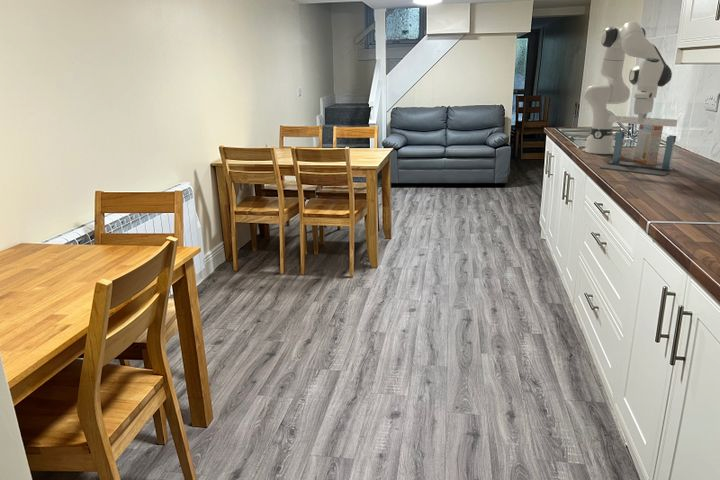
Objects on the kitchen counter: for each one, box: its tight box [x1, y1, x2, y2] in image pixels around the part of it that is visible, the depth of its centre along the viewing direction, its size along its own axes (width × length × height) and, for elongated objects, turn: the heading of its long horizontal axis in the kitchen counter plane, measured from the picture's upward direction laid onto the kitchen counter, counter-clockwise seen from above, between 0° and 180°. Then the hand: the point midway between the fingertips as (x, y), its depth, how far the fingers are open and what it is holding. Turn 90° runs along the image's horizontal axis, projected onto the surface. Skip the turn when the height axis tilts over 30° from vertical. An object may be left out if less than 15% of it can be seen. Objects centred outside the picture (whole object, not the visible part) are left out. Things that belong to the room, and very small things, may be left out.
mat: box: [599, 163, 670, 177], centre depth 274 cm, size 10×30×1 cm, turn 50°
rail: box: [609, 115, 678, 128], centre depth 266 cm, size 3×30×3 cm, turn 50°
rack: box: [606, 130, 677, 173], centre depth 280 cm, size 8×30×17 cm, turn 50°
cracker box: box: [633, 124, 664, 165], centre depth 290 cm, size 14×6×21 cm, turn 179°
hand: (641, 122), depth 267 cm, fingers closed on rail, 3 cm apart
